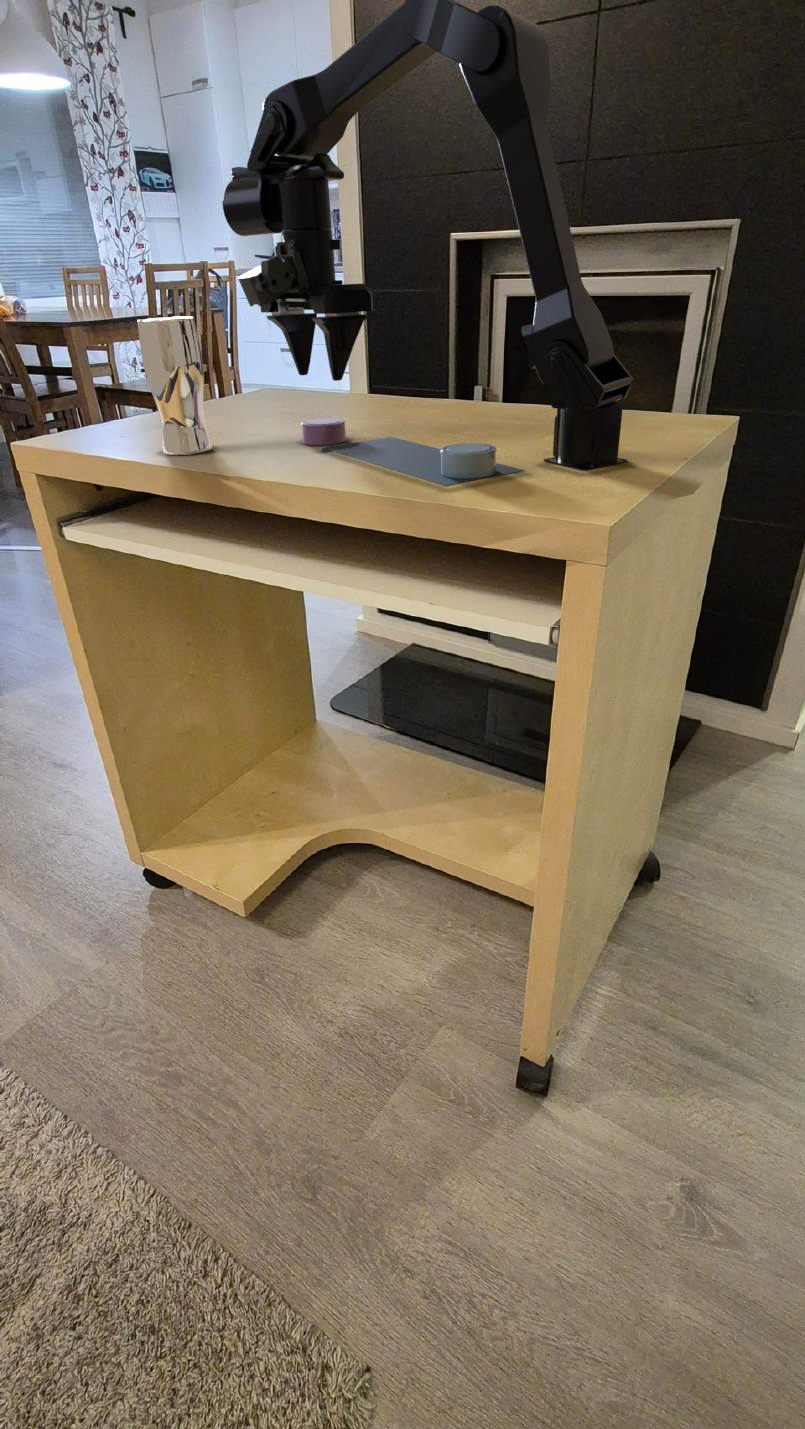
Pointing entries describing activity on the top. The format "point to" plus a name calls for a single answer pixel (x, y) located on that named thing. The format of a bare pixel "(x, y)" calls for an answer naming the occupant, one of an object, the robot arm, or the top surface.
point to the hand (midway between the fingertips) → (319, 377)
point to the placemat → (407, 459)
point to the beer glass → (176, 382)
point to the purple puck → (323, 431)
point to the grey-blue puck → (468, 460)
